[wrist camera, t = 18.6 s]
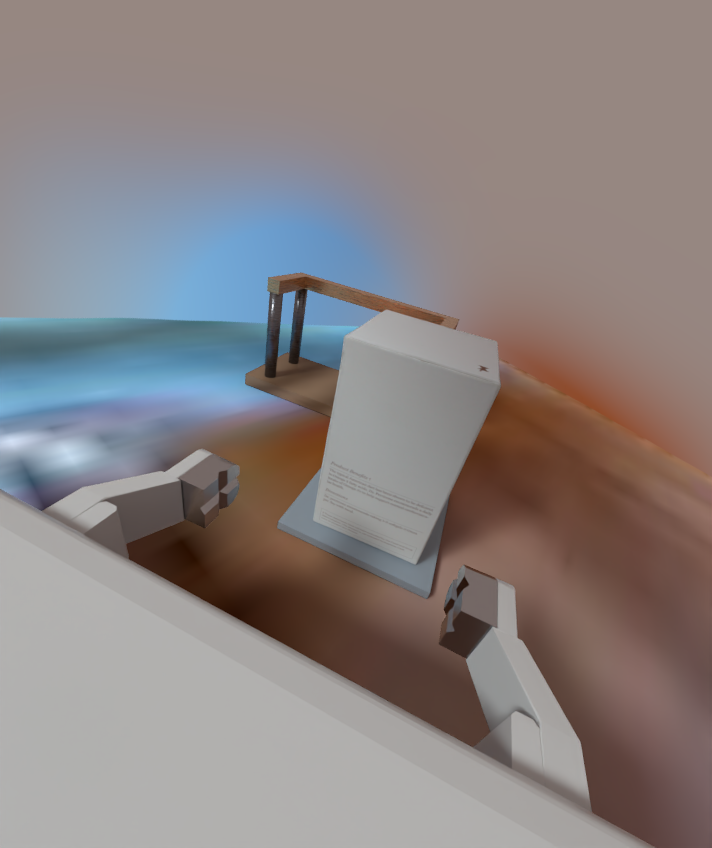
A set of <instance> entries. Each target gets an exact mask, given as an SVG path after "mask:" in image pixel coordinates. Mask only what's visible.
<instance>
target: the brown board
mask: <svg viewBox="0 0 712 848" xmlns="http://www.w3.org/2000/svg"><path fill="white" fill-rule="evenodd" d="M288 360H289V353H288V352H287V353H285V354H283V355H282V356H280V357H278V358H277V368H276V377H274V378H268V377H265V376H264V372H265V364H264V365H262V366H260V367H258V368H256V369H254V370H252V371H250V372H248V373H246V379H245V384H246V385H249V386H252V387H254V388H257V389H259V390H262V391H265V392H267V393H270V394H272V395H275V396H278V397H280V398H283V399H285V400H288V401H291V402H293V403H296V404H298V405H301V406H303V407H306V408H309V409H311V410H314V411H316V412H319V413H322V414H324V415H327V416H329V417H331V414H332V409H333V403H334V398H335V392H336V387H337V381H338V376H339V370H336V369H333V368H330V367H327V366H325V365H322V364H319V363H316V362H313V361H310V360H308V359H305V358H302V357H299V363H298V364H291V363H289V362H288Z"/></svg>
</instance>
